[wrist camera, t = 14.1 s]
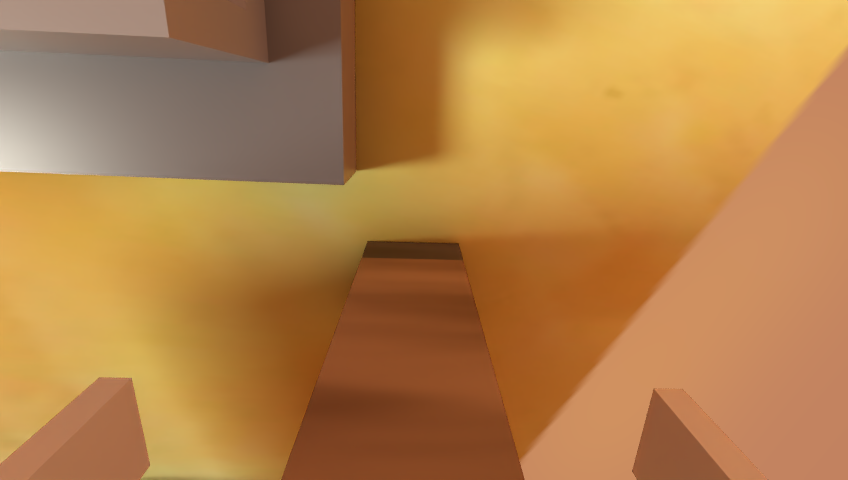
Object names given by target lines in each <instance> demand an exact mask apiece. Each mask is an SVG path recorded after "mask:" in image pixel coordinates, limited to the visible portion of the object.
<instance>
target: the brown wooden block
mask: <svg viewBox="0 0 848 480" xmlns="http://www.w3.org/2000/svg"><path fill="white" fill-rule="evenodd" d="M281 480H524V476H523V472H522V469H521V465H520V462H519V458H518V455H517V451H516V447H515V444H514V440H513V437H512V433H511V430H510V426H509V422H508V419H507V415H506V412H505V408H504V405H503V401H502V398H501V394H500V390H499V387H498V383H497V380H496V376H495V373H494V369H493V365H492V362H491V358H490V355H489V351H488V348H487V344H486V340H485V337H484V333H483V330H482V326H481V323H480V319H479V315H478V312H477V308H476V305H475V301H474V298H473V294H472V291H471V287H470V283H469V280H468V276H467V273H466V269H465V266H464V262H463V258H462V255H461V251H460V248H459V244H454V243H414V242H374V241H368V242H367V245H366V247H365V250H364V253H363V256H362V258H361V261H360V264H359V267H358V269H357V272H356V275H355V278H354V281H353V283H352V286H351V289H350V292H349V294H348V297H347V300H346V303H345V305H344V308H343V311H342V314H341V316H340V319H339V322H338V325H337V327H336V330H335V333H334V336H333V338H332V341H331V344H330V347H329V349H328V352H327V355H326V358H325V361H324V363H323V366H322V369H321V372H320V374H319V377H318V380H317V383H316V385H315V388H314V391H313V394H312V396H311V399H310V402H309V405H308V407H307V410H306V413H305V416H304V418H303V421H302V424H301V427H300V429H299V432H298V435H297V438H296V441H295V443H294V446H293V449H292V452H291V454H290V457H289V460H288V463H287V465H286V468H285V471H284V474H283V476H282V479H281Z"/></svg>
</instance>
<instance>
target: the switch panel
mask: <svg viewBox="0 0 848 480" xmlns="http://www.w3.org/2000/svg"><path fill="white" fill-rule="evenodd" d="M0 171H4V172H30V173H55V174H80V175H105V176H130V177H156V178H181V179H206V180H231V181H256V182H282V183H307V184H332V185H344V184H345V183H346V182H347V181H348V180H349V179H350V178H351V176H352V175H353V174H354V173H355V172H356V94H355V0H0Z"/></svg>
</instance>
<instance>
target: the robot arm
mask: <svg viewBox="0 0 848 480" xmlns="http://www.w3.org/2000/svg"><path fill="white" fill-rule="evenodd" d="M149 466H150V462H149V458H148V453H147V448H146V444H145V439H144V434H143V430H142V425H141V420H140V416H139V411H138V406H137V402H136V397H135V392H134V387H133V383H132V378H100V377H99V378H98V379H97V380H96V381H95V382H94V383H93V384H91V385H90V386H89V387H88V388H87V389H86V390H85V391H83V392H82V393H81V394H80V395H79V396H78V397H77V398H75V399H74V400H73V401H72V402H71V403H70V404H69V405H67V406H66V407H65V408H64V409H63V410H62V411H61V412H59V413H58V414H57V415H56V416H55V417H54V418H53V419H51V420H50V421H49V422H48V423H47V424H46V425H45V426H43V427H42V428H41V429H40V430H39V431H38V432H37V433H35V434H34V435H33V436H32V437H31V438H30V439H29V440H27V441H26V442H25V443H24V444H23V445H22V446H21V447H19V448H18V449H17V450H16V451H15V452H14V453H13V454H11V455H10V456H9V457H8V458H7V459H6V460H5V461H3V462H2V463H1V464H0V480H140V478H141V477H142V476H143V474H144V473H145V472H146V470H147V469H148V467H149ZM632 472H633V473H634V475H635V477H636V478H637V480H768V479H767V478H766V477H765V476H764V475H763V474H762V473H761V472H760V471H759V470H758V468H757V467H756V466H755V465H754V464H753V463H752V462H751V461H750V460H749V459H748V458H747V457H746V456H745V455H744V454H743V453H742V451H741V450H740V449H738V447H737V446H736V445H735V444H734V443H733V442H732V441H731V440H730V439H729V438H728V437H727V436H726V435H725V434H724V432H723V431H722V430H721V429H720V428H719V427H718V426H717V425H716V424H715V423H714V422H713V421H712V420H711V419H710V418H709V416H707V414H706V413H705V412H704V411H703V410H702V409H701V408H700V407H699V406H698V405H697V404H696V403H695V402H694V401H693V400H692V398H691V397H690V396H689V395H688V394H687V393H686V392H685V391H684V390H683V389H654V390H653V394H652V398H651V401H650V406H649V409H648V413H647V417H646V421H645V424H644V428H643V432H642V436H641V440H640V444H639V448H638V451H637V455H636V459H635V463H634V467H633V470H632Z"/></svg>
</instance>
